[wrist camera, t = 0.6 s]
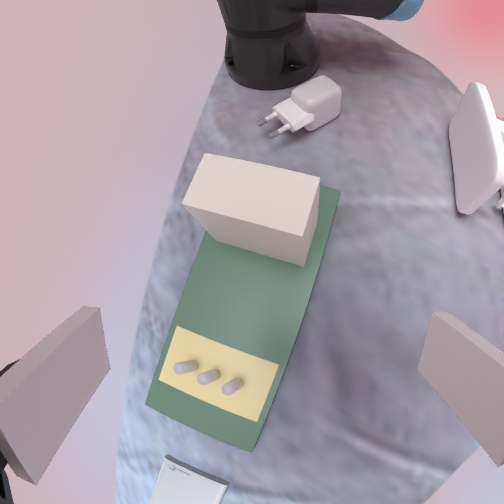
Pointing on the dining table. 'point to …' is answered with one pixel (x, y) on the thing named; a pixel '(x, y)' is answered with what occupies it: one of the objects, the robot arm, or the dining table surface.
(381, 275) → the dining table surface
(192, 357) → the board
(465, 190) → the cable organizer
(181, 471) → the hard drive
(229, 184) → the block
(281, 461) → the dining table surface
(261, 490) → the dining table surface
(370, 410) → the dining table surface
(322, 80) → the power adapter
